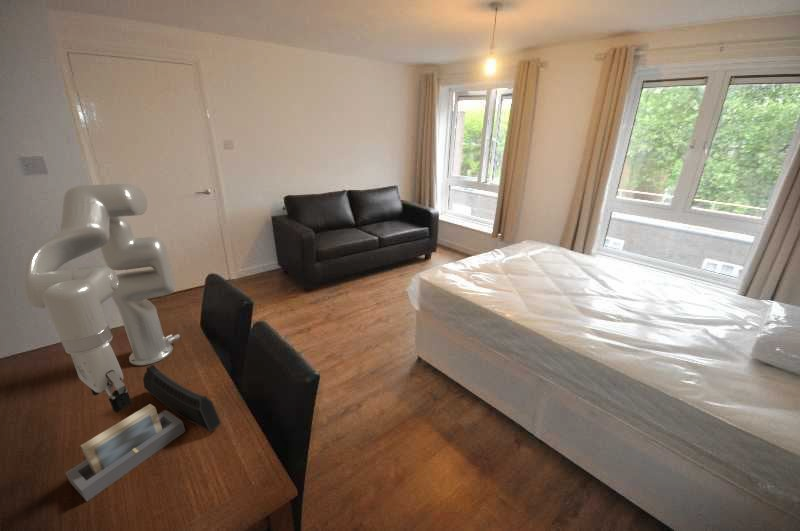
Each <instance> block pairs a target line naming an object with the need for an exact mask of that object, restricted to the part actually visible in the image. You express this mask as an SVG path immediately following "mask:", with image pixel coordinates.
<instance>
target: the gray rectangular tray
mask: <svg viewBox="0 0 800 531" xmlns="http://www.w3.org/2000/svg"><path fill="white" fill-rule="evenodd" d="M157 414H158V417H159V420H160V423H161V426H162V429H163V430H161V431H160V432H158V433H157V434H155V435H154V436H152V437H151V438H149V439H148V440H146V441H145V442H143V443H142V444H140V445H139V446H137V447H136V448H134V449H132V450H131V451H130V452H128V453H127V454H125V455H124V456H122V457H121V458H119V459H118V460H116V461H115V462H113V463H112V464H110V465H109V466H107V467H106V468H104V469H103V470H102V471H100V472H99V473H97V474H96V475H94V474H93V472H92V470H91V468H90V465H89V463H88V461H87V459H86V458H85V460H84V461H82V462H79V463H78V464H77V465H76V466H74V467H72V468H71V469H69V470H67V471H66V472H65V474H66V477H67V479H68V481H69V483H70V485H72V486H73V488H74V489H75V490H76V491H77V492H78V494H80V496H81V497H82V499H84V500H85V502H89V501H90V500H91V499H92V498H94V497H95V496H97V495H99V494H100V493H101V492H103V491H104V490H105V489H107V488H108V487H109V486H111V485H112V484H114V483H115V482H116V481H118V480H120V479H121V478H122V477H123V476H125V475H126V474H128V473H130V471H132V470H134V469H135V468H136V467H138V466H139V465H140V464H142V463H143V462H145V461H146V460H148V459H149V458H151V457H152V456H153V455H155V454H156V453H157V452H159V451H160V450H161V449H163V448H164V447H166V446H168V444H170V443H171V442H172V441H174V440H175V439H177V438H178V437H180V436H181V435H182V434H184V433H186V428H185V426H184V422H183V420H181V419H180V418H179V417H177V416H175V415H174V414H173V413H171V412H169V410H166V409H165V410H163V411H162V412H160V413H157Z"/></svg>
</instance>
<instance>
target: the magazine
mask: <svg viewBox="0 0 800 531" xmlns="http://www.w3.org/2000/svg"><path fill="white" fill-rule="evenodd" d="M142 380H143V386H144V390H146V391H147V392H148V393H149V394H150V395H151V396H154V397H155V398H156V399H157V400H158V401H160V402H161V403H162V404H163V405H165V407H167V408H168V409H170V410H171V411H173V412H174V413H175V414H177V415H179V416H180V417H182V418H184V419H186V420H187V421H189V422H191V423H192V424H195V425H197V426H199V427H201V428H202V429H205V430H207V431H209V432H212V431H214V430H215V429H217V428H218V427H219V426H220V425H221V424H222V421H221V420H220V417H219V414H218V413H217V410H216V408H215V405H214V404H213V401H212V400H211V399H209V398H208V396H207V395H201V394H199V393H196V392H194V391H192V390H190V389H189V388H186V387H184V386H183V385H181V384H179V383H177V382H175V380H173V379H171V378H170V377H169V376H167V375H166V374H164V373H163V372H162V371H161V370H160V369H158V368H157V367H156V366H155V365H154V364H150V365H149V366H148V367H147V368H146V372H145V373H144V375H143V378H142Z"/></svg>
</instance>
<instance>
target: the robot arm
mask: <svg viewBox="0 0 800 531" xmlns="http://www.w3.org/2000/svg"><path fill="white" fill-rule="evenodd" d="M146 196H147V195H146V194H145V192H144V191H143V190H142V188H141V187H139V186H138V185H134V184H133V185H131V184H125V183H105V184H86V185H83V184H82V185H76V186H73V187H71V188H69V189H68V190H67V191H66V192H65V193H64V197H63V204H62V213H61V221H60V222H61V224H60V231H59V232H57V233H56V234H54V235H52V237H50V238H48V239H46V241H44V242H43V243H42V244H41V245H40V246H39V247H37V248H36V249H35V250H34V251H33V252H32V253H31V255H30V256H29V258H28V259H27V262H26V267H25V272H24V279H23V293H24V296H25V300H26V301H27V302H28V303H29V304H30V305H32V306H33V307H35V308H38V309H46V310H47V312H48V315H49V317H50V318H49V319H50V320H51V322H52V324H53V326H54V328H55V331H56V332H57V336H58V337H59V341H60V342H61V344H62V347H63V349H64V351H65V353H66V354H68V355H70V356H71V360H72V363H73V366H74V368H75V370H76V373H77V376H78V378H79V380H80V381H81V382H83V383H84V384H85V385H86V386H88V388H90V391H91V393H92V395H93V396H98V395H99V394H101V393H104V392H105V391H106V393H107V395H108V397H109V398H108V401H109V403H110V405H111V408H112V411H113V413H115V414H117V413H119V412H121V411H123V410H124V409H126V408H128V407H129V406H131V405H132V399H131V398H130V395H129V391H128V389H127V387H126V386H125V384H124V382H123V381H124V374H123V370H122V367H121V366H120V362H119V360H118V359H117V356H116V353H115V351H114V349H113V348H112V345H111V344H110V343H111V341H112V340H113V337H114V336H113V335H112V331H111V328H110V325H109V322H108V320H107V317H106V314H105V312H104V309H103V306H102V304H104V303H105V301H107V300H109V299H110V298H111V299H112V300H113V302H114V304H115V305H116V307H117V311H118V312H119V315H120V317H121V321H122V323H123V327H124V329H125V332H126V336H127V338H128V342H129V344H130V345H129V346H130V347H131V350H132V352H131V354H130V355H129V357H128V359H129V360H128V361H129V363H130V364H132V365H134V366H147V365H153V364H155V363H157V362H160V361H162V360H164V359H165V358H167V357H168V356H169V355H171V354H172V352H173V350H174V348H173V345H172V344H173V342H175V341H178V340H180V339H181V335H180V334H179V333H177V334H175V335H173V334H172V333H170V334H168V335H167V336H165V335H164V332H163V329H162V324H161V321H160V318H159V315H158V310H157V307H156V306H155V304H153V303H152V302H151V301H150V300H148V299H151V298H157V297H163V296H168V295H171V294H172V293H174V291H175V289H176V282H175V278H174V274H173V269H172V267H171V263H170V257H169V255H168V251H167V248H166V246H165V243H164V242H163V240H161V238H158V237H154V236H150V237H140V238H136V237H135V236H134V234H133V230H132V227H131V223H129V221H128V220H127V219H126V218H125V217H135V216H136V217H137V216H142V215H144V214H146V212H147V208H148V199H147V197H146ZM99 248H100V251H101V254H102V257H103V260H104V262H105V263H106V266H105V265H103V266H102V265H95V266H86V267H78V268H69V269H63V270H62V269H61V270H60V267H62V266H64V265H65V264H66V263H68V262H71V261H72V260H74V259H77V258H79V257H82V256H84V255H86V254H90V253H92V252H93V251H95V250H99ZM143 268H150V269H143ZM58 269H59V270H58ZM134 269H143V270H134ZM127 270H128V271H127ZM129 270H133V271H129ZM115 271H127V272H122V273H118V274H117V273H116V272H115ZM113 387H114V391H112V390H111V388H113Z"/></svg>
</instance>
